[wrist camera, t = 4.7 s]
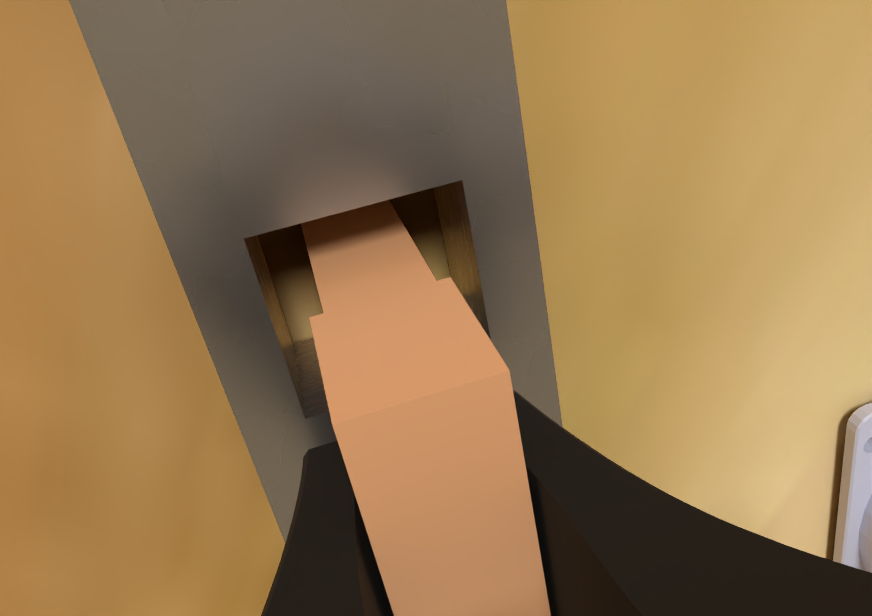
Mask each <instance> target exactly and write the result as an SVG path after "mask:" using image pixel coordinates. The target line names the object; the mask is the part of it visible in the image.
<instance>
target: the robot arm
mask: <svg viewBox="0 0 872 616" xmlns="http://www.w3.org/2000/svg"><path fill="white" fill-rule="evenodd" d="M513 394H514V400H515V406H516V412H517V418H518V424H519V430H520V436H521V441H522V447H523V453H524V459H525V465H526V471H527V477H528V483H529V489H530V495H531V501H532V507H533V513H534V519H535V525H536V530H537V536H538V542H539V548H540V554H541V560H542V566H543V572H544V578H545V584H546V590H547V596H548V602H549V608H550V613H551V616H872V403H869V404H866V405H863V406H861V407H859V408H858V409H857V410H856V411H854V412H853V413H852V415H851V416H850V418H849V419H848V423H847V427H846V437H845V447H844V456H843V466H842V476H841V486H840V496H839V506H838V516H837V525H836V535H835V545H834V555H833V561H831V560H828V559H825V558H822V557H818V556H815V555H812V554H809V553H807V552H804V551H801V550H798V549H795V548H792V547H789V546H786V545H784V544H781V543H779V542H776V541H773V540H771V539H768V538H766V537H763V536H760V535H758V534H755V533H753V532H750V531H748V530H745V529H742V528H740V527H737V526H735V525H732V524H730V523H728V522H726V521H723V520H721V519H719V518H716V517H714V516H712V515H710V514H707V513H705V512H703V511H701V510H699V509H697V508H695V507H693V506H691V505H689V504H687V503H685V502H683V501H681V500H679V499H677V498H675V497H673V496H671V495H669V494H667V493H665V492H664V491H662V490H660V489H658V488H656V487H655V486H653V485H651V484H649V483H648V482H646V481H644V480H642V479H641V478H639V477H637V476H636V475H634V474H632V473H631V472H629V471H627V470H625V469H624V468H622V467H621V466H619V465H617V464H616V463H614V462H613V461H611V460H609V459H608V458H606V457H605V456H603V455H602V454H600V453H599V452H597V451H596V450H594V449H593V448H591V447H590V446H588V445H587V444H585V443H584V442H582V441H581V440H579V439H578V438H577V437H575V436H574V435H572V434H571V433H570V432H568V431H567V430H565V429H564V428H563V427H561V426H560V425H559V424H557V423H556V422H555V421H553V420H552V419H550V418H549V417H548V416H546V415H545V414H544V413H543V412H541V411H540V410H539V409H537V408H536V407H535V406H534V405H532V404H531V403H530V402H529V401H527V400H526V399H525V398H524V397H522V396H521V395H520V394H519V393H517V392H516V391H514V390H513ZM261 616H394V614H393V611H392V608H391V605H390V602H389V599H388V596H387V593H386V589H385V586H384V583H383V580H382V577H381V574H380V571H379V568H378V565H377V562H376V558H375V555H374V552H373V549H372V546H371V543H370V540H369V537H368V534H367V531H366V528H365V524H364V521H363V518H362V515H361V512H360V509H359V506H358V503H357V500H356V497H355V494H354V490H353V487H352V484H351V481H350V478H349V475H348V472H347V469H346V466H345V463H344V459H343V456H342V453H341V450H340V447H339V444H338V441H334V442H331V443H328V444H325V445H321V446H318V447H315V448H312V449H308V451H307V452H306V454H305V455H304V457H303V466H302V474H301V480H300V486H299V491H298V496H297V501H296V505H295V510H294V514H293V518H292V522H291V525H290V529H289V533H288V536H287V540H286V543H285V547H284V551H283V554H282V557H281V561H280V564H279V567H278V570H277V572H276V575H275V578H274V581H273V584H272V587H271V590H270V592H269V595H268V598H267V601H266V604H265V607H264V609H263V612H262V615H261Z"/></svg>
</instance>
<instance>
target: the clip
mask: <svg viewBox="0 0 872 616" xmlns="http://www.w3.org/2000/svg"><path fill="white" fill-rule="evenodd" d="M301 226H302V230H303V234H304V238H305V242H306V246H307V250H308V254H309V258H310V262H311V266H312V270H313V274H314V277H315V281H316V285H317V289H318V293H319V297H320V301H321V305H322V309H323V314H319V315H316V316H313V317H309V319H310V324H311V328H312V333H313V338H314V342H315V347H316V352H317V356H318V361H319V366H320V370H321V375H322V379H323V384H324V389H325V393H326V398H327V403H328V407H329V412H330V417H331V421H332V425H333V429H334V432H335V435H336V438H337V441H338V444H339V447H340V450H341V453H342V456H343V459H344V463H345V466H346V469H347V472H348V475H349V478H350V481H351V484H352V487H353V490H354V494H355V497H356V500H357V503H358V506H359V509H360V512H361V515H362V518H363V521H364V524H365V528H366V531H367V534H368V537H369V540H370V543H371V546H372V549H373V552H374V555H375V558H376V562H377V565H378V568H379V571H380V574H381V577H382V580H383V583H384V586H385V589H386V593H387V596H388V599H389V602H390V605H391V608H392V611H393V614H394V616H551V613H550V608H549V602H548V596H547V590H546V584H545V578H544V572H543V566H542V560H541V554H540V548H539V542H538V536H537V530H536V525H535V519H534V513H533V507H532V501H531V495H530V489H529V483H528V477H527V471H526V465H525V459H524V453H523V447H522V441H521V436H520V430H519V424H518V418H517V412H516V406H515V400H514V394H513V388H512V382H511V376H510V370H509V369H508V367H507V365H506V364H505V362H504V361H503V359H502V358H501V356H500V354H499V353H498V351H497V350H496V348H495V347H494V345H493V343H492V342H491V340H490V339H489V337H488V335H487V334H486V332H485V331H484V329H483V328H482V326H481V324H480V323H479V321H478V320H477V318H476V317H475V315H474V313H473V312H472V310H471V309H470V307H469V305H468V304H467V302H466V301H465V299H464V298H463V296H462V294H461V293H460V291H459V290H458V288H457V287H456V285H455V283H454V282H453V280H452V279H451V277H449V278H445V279H442V280H438V281H436V279H435V277H434V276H433V274H432V272H431V271H430V269H429V267H428V265H427V264H426V262H425V260H424V259H423V257H422V255H421V254H420V252H419V250H418V248H417V247H416V245H415V243H414V242H413V240H412V238H411V237H410V235H409V233H408V231H407V230H406V228H405V226H404V225H403V223H402V221H401V220H400V218H399V216H398V214H397V213H396V211H395V209H394V208H393V206H392V204H391V203H390V201H389V200H386V201H382V202H378V203H375V204H371V205H367V206H363V207H360V208H356V209H352V210H349V211H345V212H341V213H337V214H334V215H330V216H326V217H323V218H319V219H315V220H311V221H308V222H304V223H301Z"/></svg>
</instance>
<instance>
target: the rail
mask: <svg viewBox="0 0 872 616" xmlns="http://www.w3.org/2000/svg"><path fill="white" fill-rule="evenodd" d="M69 2H70V4H71V7H72V9H73V12H74V14H75V17H76V19H77V22H78V24H79V27H80V29H81V32H82V34H83V37H84V39H85V42H86V44H87V47H88V49H89V52H90V54H91V57H92V59H93V62H94V64H95V67H96V69H97V72H98V74H99V77H100V79H101V82H102V84H103V87H104V89H105V92H106V94H107V97H108V99H109V102H110V104H111V107H112V109H113V112H114V114H115V117H116V119H117V122H118V124H119V127H120V129H121V132H122V134H123V137H124V139H125V142H126V144H127V147H128V149H129V152H130V155H131V157H132V160H133V162H134V165H135V167H136V170H137V172H138V175H139V177H140V180H141V182H142V185H143V187H144V190H145V192H146V195H147V197H148V200H149V202H150V205H151V207H152V210H153V212H154V215H155V217H156V220H157V222H158V225H159V227H160V230H161V232H162V235H163V237H164V240H165V242H166V245H167V247H168V250H169V252H170V255H171V257H172V260H173V262H174V265H175V267H176V270H177V272H178V275H179V277H180V280H181V282H182V285H183V287H184V290H185V292H186V295H187V297H188V300H189V302H190V305H191V307H192V310H193V313H194V315H195V318H196V320H197V323H198V325H199V328H200V330H201V333H202V335H203V338H204V340H205V343H206V345H207V348H208V350H209V353H210V355H211V358H212V360H213V363H214V365H215V368H216V370H217V373H218V375H219V378H220V380H221V383H222V385H223V388H224V390H225V393H226V395H227V398H228V400H229V403H230V405H231V408H232V410H233V413H234V415H235V418H236V420H237V423H238V425H239V428H240V430H241V433H242V435H243V438H244V440H245V443H246V445H247V448H248V450H249V453H250V455H251V458H252V460H253V463H254V465H255V468H256V471H257V473H258V476H259V478H260V481H261V483H262V486H263V488H264V491H265V493H266V496H267V498H268V501H269V503H270V506H271V508H272V511H273V513H274V516H275V518H276V521H277V523H278V526H279V528H280V531H281V533H282V536H283V538H284V541H285V543H286V540H287V536H288V533H289V529H290V525H291V522H292V518H293V514H294V510H295V505H296V501H297V496H298V491H299V486H300V480H301V474H302V466H303V457H304V455H305V454H306V452H307V451H308V449H312V448H315V447H318V446H321V445H325V444H328V443H331V442H334V441H337V438H336V435H335V432H334V429H333V425H332V421H331V417H330V412H329V407H328V403H327V398H326V393H325V389H324V384H323V379H322V375H321V370H320V366H319V361H318V356H317V352H316V347H315V342H314V338H311V339H308V340H304V341H301V342H297V343H294V344H293V342H292V339H291V336H290V333H289V330H288V326H287V323H286V320H285V317H284V314H283V311H282V308H281V305H280V302H279V299H278V296H277V293H276V290H275V287H274V284H273V281H272V278H271V275H270V272H269V269H268V266H267V263H266V260H265V257H264V254H263V251H262V248H261V245H260V242H259V239H258V236H257V235H259V234H263V233H267V232H270V231H274V230H278V229H282V228H285V227H289V226H293V225H296V224H300V223H304V222H308V221H311V220H315V219H319V218H322V217H326V216H330V215H334V214H337V213H341V212H345V211H349V210H352V209H356V208H360V207H363V206H367V205H371V204H375V203H378V202H382V201H386V200H389V199H393V198H397V197H401V196H404V195H408V194H412V193H416V192H419V191H423V190H427V189H430V188H433V189H434V194H435V199H436V204H437V209H438V214H439V219H440V224H441V229H442V234H443V239H444V244H445V249H446V254H447V259H448V264H449V269H450V274H451V279H452V280H453V282H454V283H455V285H456V287H457V288H458V290H459V291H460V293H461V294H462V296H463V298H464V299H465V301H466V302H467V304H468V305H469V307H470V309H471V310H472V312H473V313H474V315H475V317H476V318H477V320H478V321H479V323H480V324H481V326H482V328H483V329H484V331H485V332H486V334H487V335H488V337H489V339H490V340H491V342H492V343H493V345H494V347H495V348H496V350H497V351H498V353H499V354H500V356H501V358H502V359H503V361H504V362H505V364H506V365H507V367H508V369H509V370H510V376H511V382H512V388H513V390H514V391H516V392H517V393H519V394H520V395H521V396H522V397H524V398H525V399H526V400H527V401H529V402H530V403H531V404H532V405H534V406H535V407H536V408H537V409H539V410H540V411H541V412H543V413H544V414H545V415H546V416H548V417H549V418H550V419H552V420H553V421H555V422H556V423H557V424H559V425H560V426H561V427H562V420H561V412H560V405H559V397H558V390H557V382H556V375H555V367H554V359H553V352H552V344H551V337H550V329H549V322H548V314H547V307H546V299H545V292H544V284H543V276H542V269H541V261H540V254H539V246H538V239H537V231H536V224H535V216H534V208H533V201H532V193H531V186H530V178H529V171H528V163H527V156H526V148H525V141H524V133H523V125H522V118H521V110H520V103H519V95H518V88H517V80H516V73H515V65H514V58H513V50H512V42H511V35H510V27H509V20H508V12H507V5H506V0H69Z"/></svg>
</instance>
